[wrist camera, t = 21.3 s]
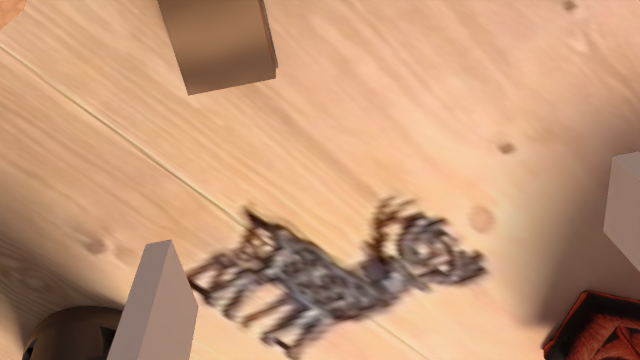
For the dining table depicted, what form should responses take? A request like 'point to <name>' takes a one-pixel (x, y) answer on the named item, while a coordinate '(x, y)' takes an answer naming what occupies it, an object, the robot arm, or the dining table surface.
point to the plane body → (220, 42)
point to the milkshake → (10, 10)
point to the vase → (598, 330)
